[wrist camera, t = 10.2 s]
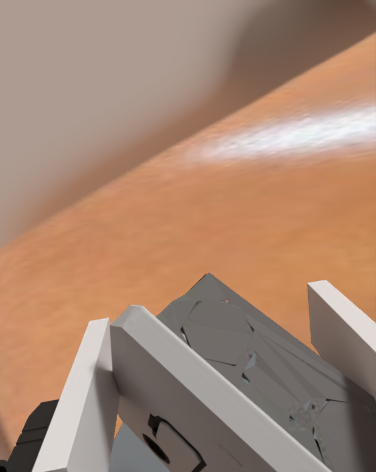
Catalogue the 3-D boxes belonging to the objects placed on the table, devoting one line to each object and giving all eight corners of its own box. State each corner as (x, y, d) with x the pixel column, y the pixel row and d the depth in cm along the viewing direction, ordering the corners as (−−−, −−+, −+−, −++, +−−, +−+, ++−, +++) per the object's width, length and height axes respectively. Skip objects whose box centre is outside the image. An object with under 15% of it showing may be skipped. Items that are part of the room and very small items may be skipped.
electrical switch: (113, 411, 17) (56, 363, 9) (185, 330, 19) (188, 236, 11) (281, 589, 14) (414, 747, 6) (345, 467, 16) (502, 466, 8)
